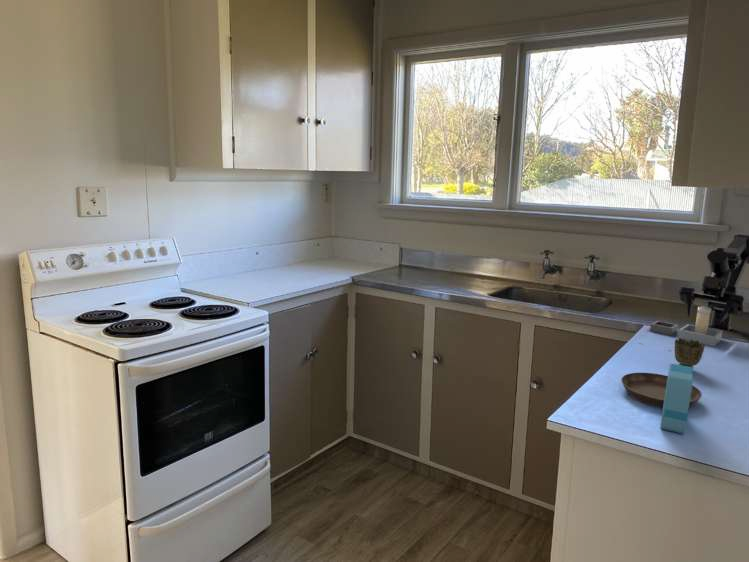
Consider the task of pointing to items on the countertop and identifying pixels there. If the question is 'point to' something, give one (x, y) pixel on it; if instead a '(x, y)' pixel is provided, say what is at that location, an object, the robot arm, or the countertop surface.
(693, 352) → the cup
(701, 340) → the tray
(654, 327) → the tray
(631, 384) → the plant saucer
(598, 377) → the countertop surface
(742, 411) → the countertop surface
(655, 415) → the countertop surface
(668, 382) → the data package
